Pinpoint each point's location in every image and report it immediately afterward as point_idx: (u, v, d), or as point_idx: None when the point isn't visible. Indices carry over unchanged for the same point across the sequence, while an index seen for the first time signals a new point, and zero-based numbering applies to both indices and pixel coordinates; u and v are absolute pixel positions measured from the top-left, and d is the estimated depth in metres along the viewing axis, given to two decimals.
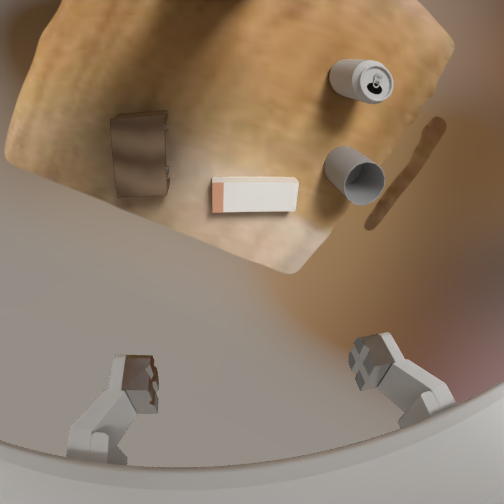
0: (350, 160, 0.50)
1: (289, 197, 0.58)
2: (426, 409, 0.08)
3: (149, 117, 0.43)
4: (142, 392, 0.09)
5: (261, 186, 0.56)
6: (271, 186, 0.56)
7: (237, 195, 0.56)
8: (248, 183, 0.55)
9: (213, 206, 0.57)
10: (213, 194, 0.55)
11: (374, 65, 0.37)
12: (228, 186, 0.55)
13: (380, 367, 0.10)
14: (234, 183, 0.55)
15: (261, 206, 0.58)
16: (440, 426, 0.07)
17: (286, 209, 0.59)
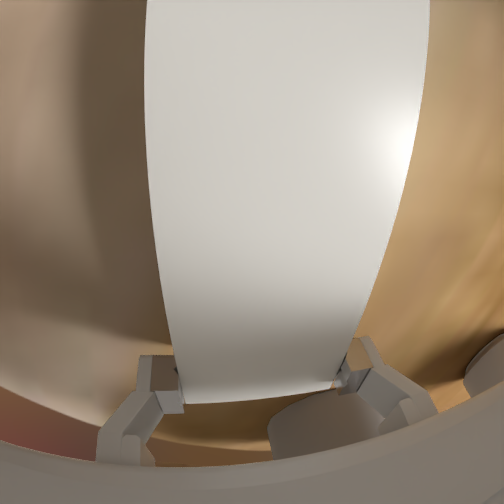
0: None
1: (263, 379, 0.11)
2: (404, 417, 0.08)
3: None
4: (172, 392, 0.09)
5: (360, 250, 0.08)
6: (344, 302, 0.09)
7: (324, 66, 0.05)
8: (403, 164, 0.07)
9: None
10: None
11: None
12: (402, 18, 0.04)
13: (358, 372, 0.10)
14: (419, 65, 0.05)
15: (201, 264, 0.07)
16: (440, 426, 0.07)
17: (191, 380, 0.10)
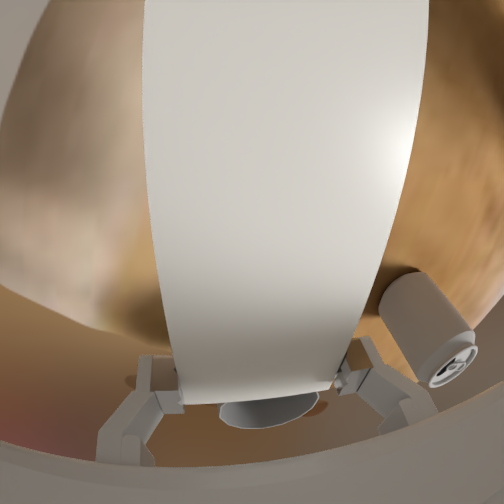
0: None
1: (262, 379, 0.11)
2: (404, 417, 0.08)
3: None
4: (172, 392, 0.09)
5: (359, 251, 0.08)
6: (343, 303, 0.09)
7: (322, 68, 0.05)
8: (402, 165, 0.07)
9: None
10: None
11: (474, 355, 0.23)
12: (401, 18, 0.05)
13: (358, 372, 0.10)
14: (418, 66, 0.05)
15: (199, 265, 0.07)
16: (440, 426, 0.07)
17: (190, 381, 0.10)
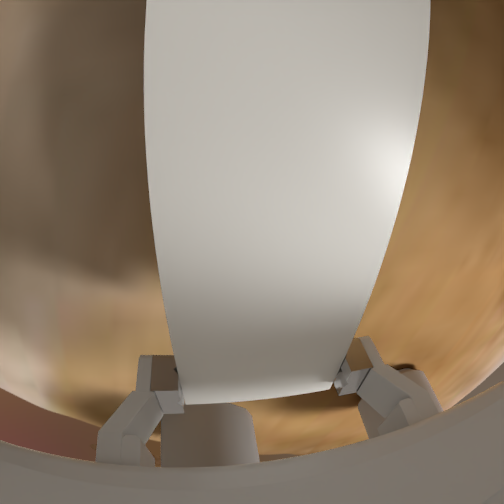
0: None
1: (263, 380, 0.11)
2: (404, 417, 0.08)
3: None
4: (172, 392, 0.09)
5: (360, 251, 0.08)
6: (344, 303, 0.09)
7: (324, 67, 0.05)
8: (404, 165, 0.07)
9: None
10: None
11: None
12: (403, 17, 0.04)
13: (358, 372, 0.10)
14: (419, 65, 0.05)
15: (200, 265, 0.07)
16: (440, 426, 0.07)
17: (191, 381, 0.10)
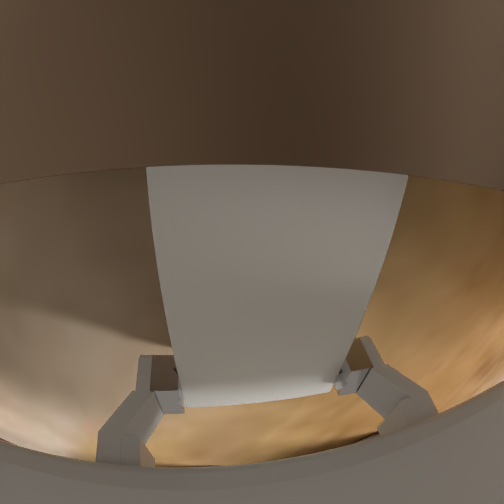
0: None
1: (263, 383, 0.11)
2: (404, 417, 0.08)
3: None
4: (172, 392, 0.09)
5: (360, 256, 0.08)
6: (344, 307, 0.09)
7: None
8: None
9: None
10: None
11: None
12: None
13: (358, 372, 0.10)
14: None
15: (201, 270, 0.07)
16: (440, 426, 0.07)
17: (191, 384, 0.10)
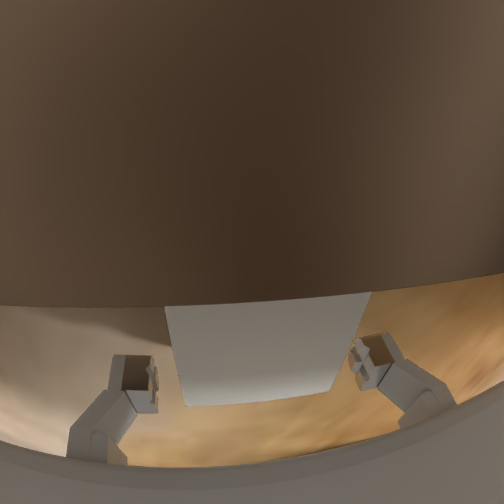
0: None
1: (263, 382, 0.11)
2: (426, 409, 0.08)
3: None
4: (142, 392, 0.09)
5: None
6: (344, 306, 0.09)
7: None
8: None
9: None
10: None
11: None
12: None
13: (380, 367, 0.10)
14: None
15: None
16: (440, 426, 0.07)
17: (191, 383, 0.10)
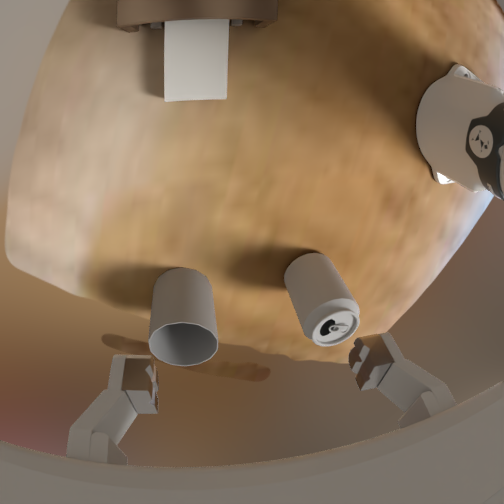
0: (208, 315, 0.36)
1: (195, 84, 0.26)
2: (426, 409, 0.08)
3: None
4: (142, 392, 0.09)
5: (219, 30, 0.23)
6: (219, 48, 0.24)
7: None
8: None
9: None
10: None
11: (358, 321, 0.35)
12: None
13: (380, 367, 0.10)
14: None
15: (175, 34, 0.22)
16: (440, 426, 0.07)
17: (168, 83, 0.25)
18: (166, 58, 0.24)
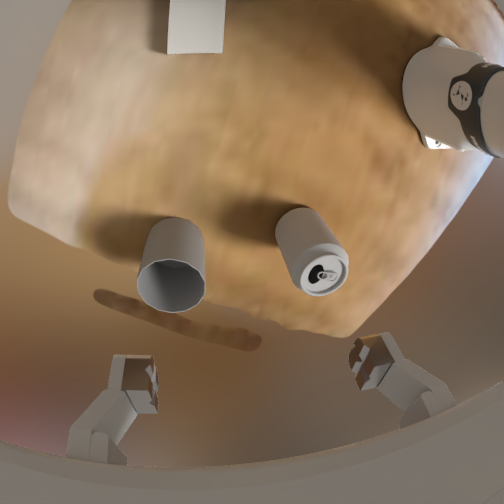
0: (197, 257, 0.37)
1: (195, 40, 0.27)
2: (426, 409, 0.08)
3: None
4: (142, 392, 0.09)
5: None
6: (217, 10, 0.25)
7: None
8: None
9: None
10: None
11: (347, 269, 0.36)
12: None
13: (380, 367, 0.10)
14: None
15: None
16: (440, 426, 0.07)
17: (171, 38, 0.26)
18: (170, 17, 0.25)
